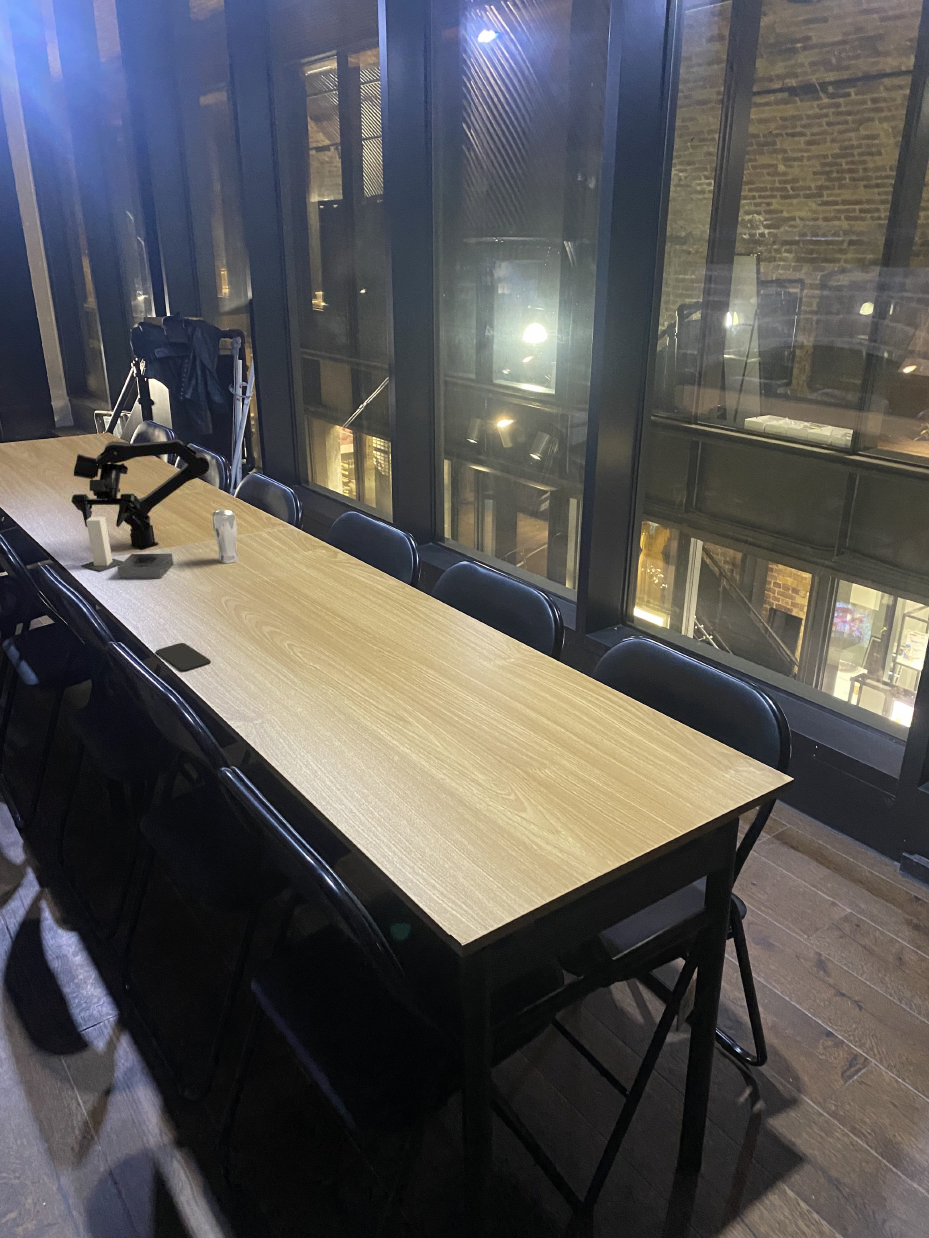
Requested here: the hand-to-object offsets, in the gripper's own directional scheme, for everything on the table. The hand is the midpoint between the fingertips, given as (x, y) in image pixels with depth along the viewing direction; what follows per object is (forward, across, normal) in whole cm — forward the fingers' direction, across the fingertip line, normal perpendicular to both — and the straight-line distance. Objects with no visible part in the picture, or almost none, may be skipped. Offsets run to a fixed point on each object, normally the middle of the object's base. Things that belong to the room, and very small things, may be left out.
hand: (102, 526), depth 263 cm
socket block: (+15, +15, +1) cm, 21 cm away
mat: (+10, 0, +5) cm, 11 cm away
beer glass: (+8, +37, +8) cm, 38 cm away
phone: (+58, +43, -41) cm, 83 cm away
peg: (+10, 0, +5) cm, 11 cm away
